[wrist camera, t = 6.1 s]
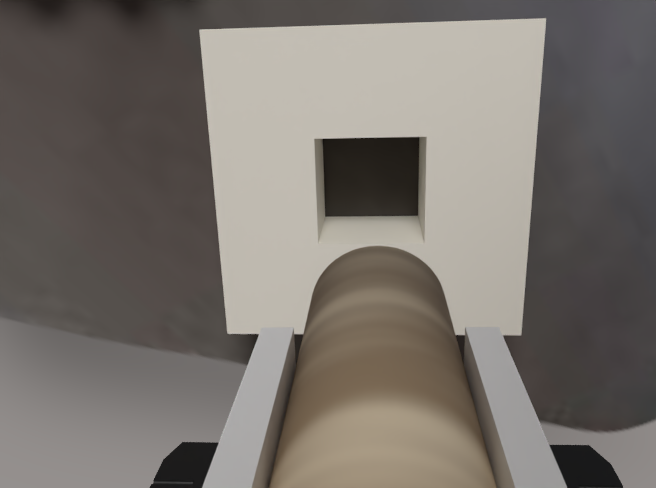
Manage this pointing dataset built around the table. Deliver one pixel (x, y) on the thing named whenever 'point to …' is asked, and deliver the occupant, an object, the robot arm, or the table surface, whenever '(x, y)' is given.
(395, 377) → the dowel
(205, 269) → the table surface
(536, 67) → the socket block
